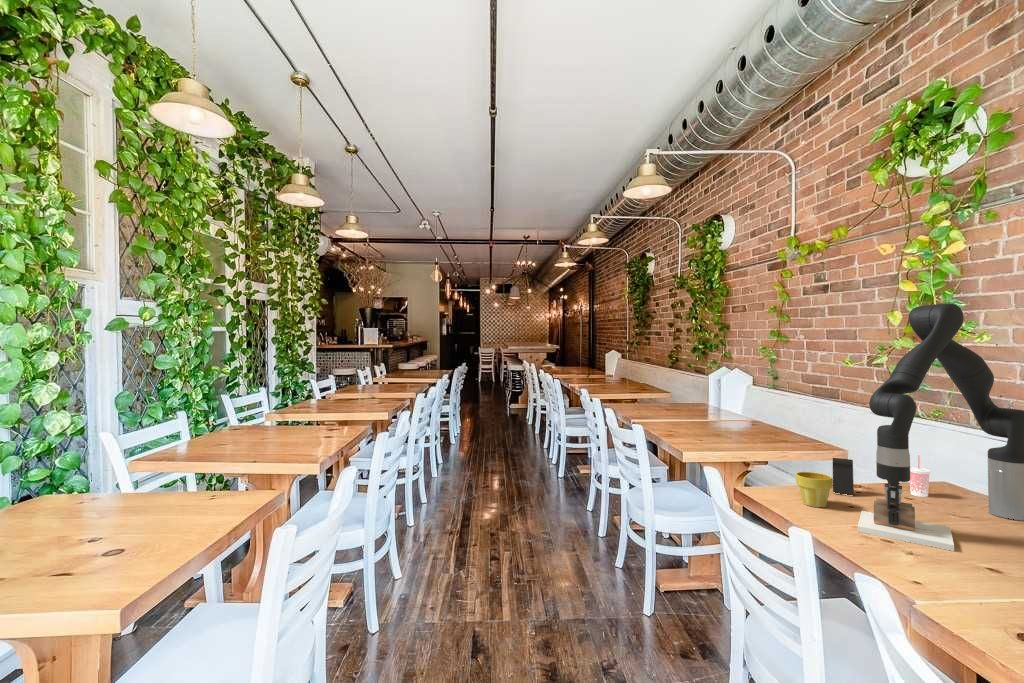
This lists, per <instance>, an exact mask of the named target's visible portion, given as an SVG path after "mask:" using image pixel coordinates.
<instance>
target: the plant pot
mask: <svg viewBox="0 0 1024 683" xmlns="http://www.w3.org/2000/svg"><path fill="white" fill-rule="evenodd" d="M795 484H797V486H798V491H799V493H800V497H801V501H802V504H803V503H804V504H803V505H805V506H807V505H808V506H807V507H811V506H812V507H813V508H818V507H823V508H826V507H827V504H828V499H829V495H830V492H831V489H833V476H831V475H828V474H826V473H825V474H824V473H820V472H815V471H798V472H796V473H795Z"/></svg>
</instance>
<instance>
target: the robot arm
mask: <svg viewBox="0 0 1024 683" xmlns="http://www.w3.org/2000/svg"><path fill="white" fill-rule="evenodd" d="M964 320H965V317H964V312H963V310H962V308H961V307H960V306H959V305H957V304H955V303H952V302H951V303H950V302H948V303H947V302H944V303H936V304H926V305H925V304H923V305H920V306H915V307H913V308H912V309H911V310H910V312H909V314H908V323H909V325H910V328H911V329H912V331H913V332H914V333H915V335H916V336H917V337H918V338H919V339H920V340H921V342H920V343H918V344H917V345H916V346H915V347H913V348H912V349H910V350H909V351H908V352H907V353H904V355H903V356H902V357H901V358H900V359H899V361H898V362H897V363H896V366H894V368H893V371H892V372H891V375H890V377H889V378H888V379H886V381H884V382H883V383H882V384H881V385H880V386H879V387H878V388H877V389H876V390H875V391H874V392H873V393H872V395H871V396H870V398H869V402H868V403H869V405H868V406H869V409H870V411H871V413H872V414H874V415H876V416H879V417H885V418H886V417H887V418H892V419H893V420H892V422H891V424H885V425H884V424H882V425H879V426H878V428H877V430H876V443H877V444H876V453H875V454H876V456H875V457H876V458H875V460H876V461H875V462H876V477H877V478H880V479H882V480H884V481H887V483H885V482H884V486H883V487H884V492H885V499H886V502H888V507H887V509H888V518H889V524H892V525H899V511H900V509H899V504H901V502H902V495H903V485H900V483H907V482H910V467H911V454H910V449H909V443H910V442H909V437H910V436H909V435H910V432H911V428H912V425H913V421H914V419H915V416H916V413H917V404H916V402H915V399H914V398H913V397H912V396H910V395H908V394H911V393H916V392H917V391H918V390H919V388H920V387H921V385H922V382H923V380H924V379H925V377H926V375H927V373H928V371H929V369H930V367H932V364H933V363H934V362H935V360H936V359H937V361H938V362H939V364H941V366H942V368H943V369H944V370H945V372H946V374H947V375H948V377H949V378H950V379H951V381H952V382H953V384H954V386H956V388H957V389H958V391H959V393H961V395H962V397H963V398H964V400H965V401H966V403H967V404H968V407H969V408H970V410H971V412H972V414H973V416H974V418H975V420H976V422H977V424H978V425H979V427H980V429H981V430H982V431H983V432H984V433H986V434H987V435H988V436H993V437H997V438H1003V439H1007V441H1006V444H1005V445H1003V446H1000V447H999V446H997V447H991V448H989V449H988V450H987V487H988V488H987V493H988V495H987V496H988V497H987V498H988V504H987V505H988V513H989V514H992V515H993V516H996V517H998V518H999V517H1000V518H1003V519H1008V518H1009V520H1013V519H1014V521H1021V522H1022V521H1024V410H1023V409H1015V408H1009V407H1006V408H1005V407H999V406H998V405H996V404H995V403H994V402H993V400H992V398H991V397H990V393H991V390H992V388H993V386H994V383H995V375H994V373H993V371H992V369H991V368H990V366H989V365H988V364H987V362H986V361H985V359H984V358H983V357H982V356H981V355H979V354H978V353H976V352H975V351H973V350H972V349H969V348H968V347H966V346H964V345H963V344H961V343H958V342H957V341H955V340H954V337H955V336H956V335H957V333H958V332H959V331H960V329H962V327H963V324H964ZM890 503H895V504H897V507H893V506H890Z"/></svg>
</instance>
